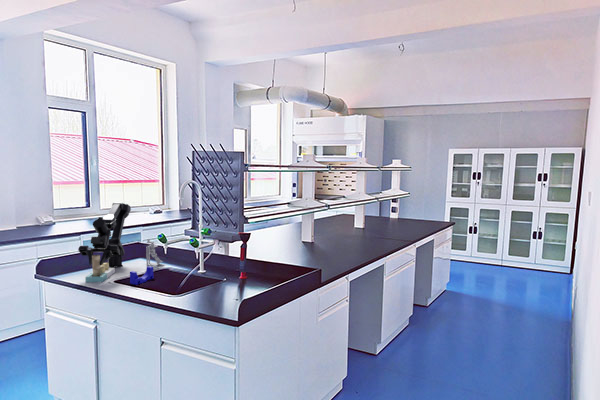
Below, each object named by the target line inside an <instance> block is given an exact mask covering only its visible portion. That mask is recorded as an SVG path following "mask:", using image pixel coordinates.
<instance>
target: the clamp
mask: <svg viewBox="0 0 600 400" xmlns="http://www.w3.org/2000/svg"><path fill="white" fill-rule="evenodd" d="M146 243H147V244H149V245H147V246H146V247H145V248H146V253H145V256H146V267H148V266H150V267H156V266H159V265H160V264H161V263H163V262H164V260H161V259H160V258H159V257H160V256H158V254H157V252H156V248H157V247H159V245H158V244H156V245H155V244H154V243H155V242H154V241H152V240H150V238H148V239H147V241H146ZM151 257H152V258H154V261H155V263H154V262H153V263H151ZM149 264H150V265H149Z"/></svg>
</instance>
